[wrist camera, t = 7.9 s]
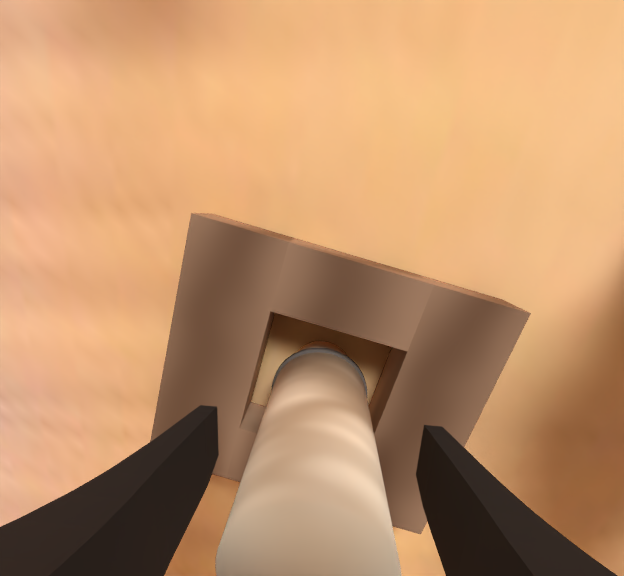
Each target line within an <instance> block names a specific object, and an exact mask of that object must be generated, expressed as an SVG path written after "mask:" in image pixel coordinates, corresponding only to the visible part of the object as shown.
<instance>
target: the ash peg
mask: <svg viewBox="0 0 624 576" xmlns="http://www.w3.org/2000/svg"><path fill="white" fill-rule="evenodd" d="M215 568H216V575H217V576H402V575H401V568H400V562H399V557H398V552H397V547H396V542H395V537H394V532H393V527H392V522H391V517H390V512H389V507H388V502H387V497H386V492H385V487H384V482H383V477H382V472H381V467H380V462H379V457H378V452H377V447H376V442H375V437H374V431H373V426H372V421H371V416H370V411H369V406H368V401H367V387H366V382H365V379H364V376H363V374H362V372H361V370H360V369H359V367H358V366H357V365H356V364H355V362H354V361H352V360H351V359H350V358H349V357H347V355H346V354H345V353H344V351H343V350H342V349H341V348H339V347H338V346H336V345H334V344H332V343H329V342H325V341H316V342H311V343H308V344H306V345H304V346H303V347H301V348H300V349H299V350H298V351H297V352H296V353H294V354H293V355H291V356H290V357H288V358H287V359H286V360H285V361H284V362H283V363H282V364H281V365H280V367H279V368H278V370H277V372H276V375H275V377H274V380H273V384H272V391H271V394H270V397H269V400H268V403H267V406H266V409H265V412H264V415H263V418H262V421H261V424H260V427H259V430H258V433H257V435H256V438H255V441H254V444H253V447H252V450H251V453H250V456H249V459H248V462H247V465H246V468H245V471H244V474H243V477H242V479H241V482H240V485H239V488H238V491H237V494H236V497H235V500H234V503H233V506H232V509H231V512H230V515H229V518H228V520H227V523H226V526H225V529H224V532H223V535H222V538H221V541H220V544H219V547H218V550H217V555H216V565H215Z"/></svg>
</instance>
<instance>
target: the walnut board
mask: <svg viewBox="0 0 624 576" xmlns="http://www.w3.org/2000/svg"><path fill="white" fill-rule="evenodd" d="M275 313H278V314H281V315H285V316H288V317H292V318H295V319H298V320H302V321H305V322H309V323H312V324H315V325H319V326H322V327H326V328H329V329H332V330H336V331H339V332H343V333H346V334H350V335H353V336H356V337H360V338H363V339H367V340H370V341H373V342H377V343H380V344H384V345H387V346H390V347H392V348H391V351H390V353H389V356H388V358H387V361H386V364H385V366H384V369H383V371H382V374H381V377H380V379H379V382H378V384H377V387H376V390H375V392H374V395H373V397H372V400H371V403H370V405H369V411H370V416H371V421H372V426H373V431H374V437H375V442H376V447H377V452H378V457H379V462H380V467H381V472H382V477H383V482H384V487H385V492H386V497H387V502H388V507H389V512H390V517H391V522H392V526H394V527H397V528H401V529H404V530H407V531H411V532H414V533H418V534H421V533H422V531H423V529H424V527H425V525H426V523H427V518H426V515H425V512H424V509H423V505H422V500H421V496H420V492H419V487H418V482H417V478H416V470H417V464H418V458H419V452H420V446H421V440H422V434H423V428H424V425H431V426H442V427H443V428H444V429H445V430H447V431H448V432H449V433H450V434H451V435H452V436H453V437H454V438H455V439H456V440H457V441H458V442H459V443H460V444H461V445H462V446H463V447H464V446H465V444H466V442H467V440H468V438H469V436H470V434H471V432H472V430H473V428H474V426H475V424H476V422H477V420H478V418H479V416H480V414H481V412H482V410H483V408H484V406H485V404H486V402H487V400H488V398H489V396H490V394H491V392H492V390H493V388H494V386H495V384H496V382H497V380H498V378H499V376H500V374H501V372H502V370H503V368H504V366H505V364H506V362H507V360H508V358H509V356H510V354H511V352H512V350H513V348H514V346H515V344H516V342H517V340H518V338H519V336H520V334H521V332H522V330H523V328H524V326H525V324H526V322H527V320H528V318H529V316H530V314H531V313H529V312H527V311H525V310H523V309H521V308H519V307H516V306H514V305H512V304H510V303H508V302H506V301H504V300H502V299H498V298H495V297H491V296H488V295H485V294H481V293H478V292H475V291H471V290H468V289H464V288H461V287H458V286H454V285H451V284H447V283H444V282H441V281H437V280H434V279H431V278H427V277H424V276H420V275H417V274H414V273H410V272H407V271H403V270H400V269H397V268H393V267H390V266H386V265H383V264H380V263H376V262H373V261H370V260H366V259H363V258H359V257H356V256H353V255H349V254H346V253H342V252H339V251H336V250H332V249H329V248H326V247H322V246H319V245H315V244H312V243H309V242H305V241H302V240H298V239H295V238H292V237H288V236H285V235H282V234H278V233H275V232H271V231H268V230H265V229H261V228H258V227H254V226H251V225H248V224H244V223H241V222H238V221H234V220H231V219H227V218H224V217H221V216H217V215H214V214H203V213H191V218H190V223H189V229H188V235H187V240H186V246H185V251H184V257H183V262H182V268H181V274H180V279H179V285H178V290H177V296H176V302H175V307H174V313H173V318H172V324H171V330H170V335H169V341H168V346H167V352H166V357H165V363H164V369H163V374H162V380H161V385H160V391H159V397H158V402H157V408H156V413H155V419H154V424H153V430H152V436H151V441H152V440H154V439H155V438H157V437H158V436H159V435H161V434H162V433H163V432H165V431H166V430H167V429H169V428H170V427H172V426H173V425H174V424H176V423H177V422H178V421H180V420H181V419H182V418H184V417H185V416H186V415H188V414H189V413H190V412H192V411H193V410H194V409H196V408H197V407H199V406H200V405H205V406H216V407H217V414H218V450H219V456H218V458H217V461H216V464H215V467H214V470H213V473H212V474H214V475H217V476H221V477H224V478H228V479H231V480H235V481H238V482H241V479H242V477H243V474H244V471H245V468H246V465H247V462H248V459H249V456H250V453H251V450H252V447H253V444H254V441H255V438H256V435H257V433H258V430H259V427H260V424H261V421H262V418H263V415H264V412H265V409H266V407H265V406H262V405H258V404H255V403H251V399H252V396H253V392H254V388H255V384H256V381H257V377H258V373H259V370H260V366H261V362H262V358H263V355H264V351H265V347H266V344H267V340H268V336H269V332H270V329H271V325H272V321H273V318H274V314H275ZM151 441H150V442H151Z"/></svg>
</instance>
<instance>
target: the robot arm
mask: <svg viewBox="0 0 624 576" xmlns="http://www.w3.org/2000/svg"><path fill="white" fill-rule="evenodd" d="M218 456H219V450H218V414H217V407H216V406H205V405H200V406H199V407H197V408H196V409H194V410H193V411H192V412H190V413H189V414H188V415H186V416H185V417H184V418H182V419H181V420H180V421H178V422H177V423H176V424H174V425H173V426H172V427H170V428H169V429H167V430H166V431H165V432H163V433H162V434H161V435H159V436H158V437H157V438H155V439H154V440H152V441H151V442H150V443H148V444H147V445H145V446H144V447H142V448H141V449H139V450H138V451H136V452H135V453H133V454H132V455H130V456H129V457H127V458H126V459H124V460H123V461H121V462H120V463H118V464H117V465H115V466H114V467H112V468H111V469H109V470H107V471H106V472H104V473H102V474H101V475H99V476H97V477H96V478H94V479H92V480H91V481H89V482H87V483H85V484H84V485H82V486H80V487H78V488H77V489H75V490H73V491H71V492H69V493H68V494H66V495H64V496H62V497H60V498H58V499H56V500H54V501H52V502H50V503H48V504H46V505H44V506H42V507H40V508H38V509H37V510H35V511H33V512H31V513H29V514H27V515H25V516H23V517H21V518H19V519H17V520H14V521H12V522H10V523H8V524H6V525H4V526H2V527H0V576H164V574H165V572H166V570H167V568H168V566H169V563H170V561H171V559H172V557H173V555H174V553H175V551H176V549H177V547H178V545H179V543H180V541H181V539H182V537H183V535H184V533H185V531H186V529H187V527H188V525H189V523H190V521H191V519H192V517H193V515H194V513H195V511H196V509H197V507H198V505H199V502H200V500H201V498H202V496H203V494H204V492H205V490H206V488H207V486H208V483H209V481H210V478H211V475H212V473H213V470H214V467H215V464H216V461H217V458H218ZM416 478H417V482H418V487H419V492H420V496H421V500H422V505H423V509H424V512H425V515H426V518H427V521H428V524H429V527H430V530H431V533H432V536H433V539H434V542H435V545H436V547H437V550H438V553H439V556H440V559H441V562H442V565H443V568H444V571H445V574H446V576H617V575H616V574H614V573H613V572H611V571H610V570H609V569H607V568H606V567H604V566H603V565H602V564H600V563H599V562H597V561H596V560H595V559H593V558H592V557H590V556H589V555H588V554H586V553H585V552H584V551H582V550H581V549H580V548H578V547H577V546H576V545H574V544H573V543H572V542H571V541H569V540H568V539H567V538H566V537H564V536H563V535H562V534H560V533H559V532H558V531H557V530H555V529H554V528H553V527H552V526H550V525H549V524H548V523H546V522H545V521H544V520H543V519H542V518H540V517H539V516H538V515H537V514H536V513H534V512H533V511H532V510H531V509H530V508H529V507H527V506H526V505H525V504H524V503H523V502H522V501H520V500H519V499H518V498H517V497H516V496H515V495H514V494H512V493H511V492H510V491H509V490H508V489H507V488H506V487H505V486H504V485H502V484H501V483H500V482H499V481H498V480H497V479H496V478H495V477H494V476H493V475H492V474H491V473H490V472H489V471H487V470H486V469H485V468H484V467H483V466H482V465H481V464H480V463H479V462H478V461H477V460H476V459H475V458H474V457H473V456H472V455H471V454H470V453H469V452H468V451H467V450H466V449H465V448H464V447H463V446H462V445H461V444H460V443H459V442H458V441H457V440H456V439H455V438H454V437H453V436H452V435H451V434H450V433H449V432H448V431H447V430H445V429H444V428H443V427H442V426H431V425H424V428H423V434H422V440H421V446H420V452H419V458H418V464H417V470H416Z"/></svg>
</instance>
